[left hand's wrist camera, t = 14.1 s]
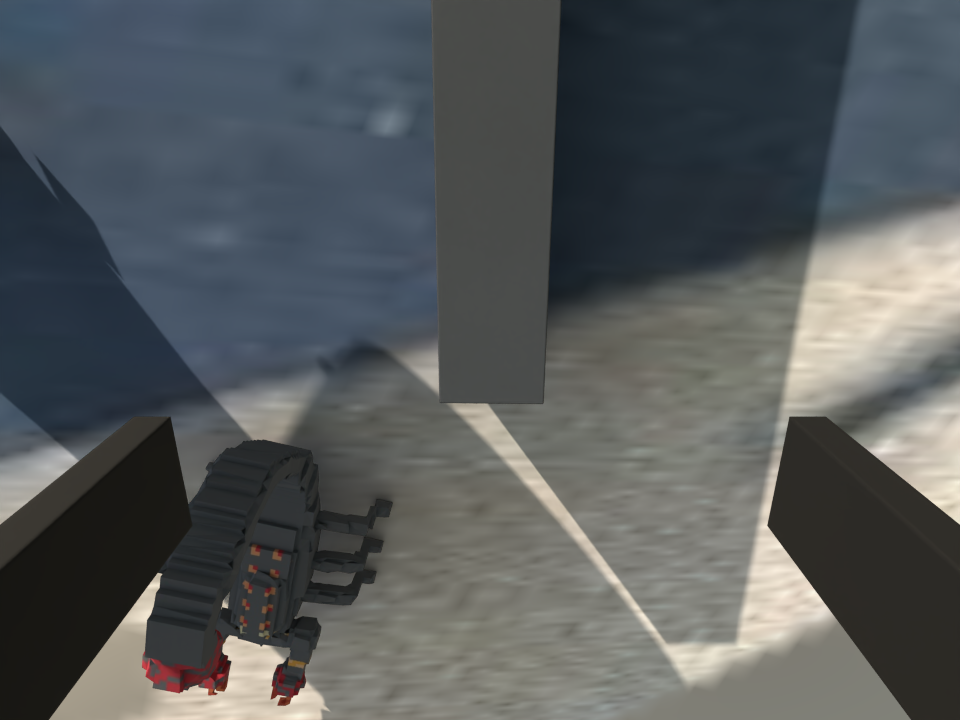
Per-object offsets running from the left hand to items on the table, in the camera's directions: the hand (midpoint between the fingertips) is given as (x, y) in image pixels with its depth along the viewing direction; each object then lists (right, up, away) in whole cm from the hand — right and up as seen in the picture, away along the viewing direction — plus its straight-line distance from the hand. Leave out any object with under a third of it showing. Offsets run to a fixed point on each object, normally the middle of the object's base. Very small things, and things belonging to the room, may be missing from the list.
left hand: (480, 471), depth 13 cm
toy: (-15, -11, +32) cm, 37 cm away
